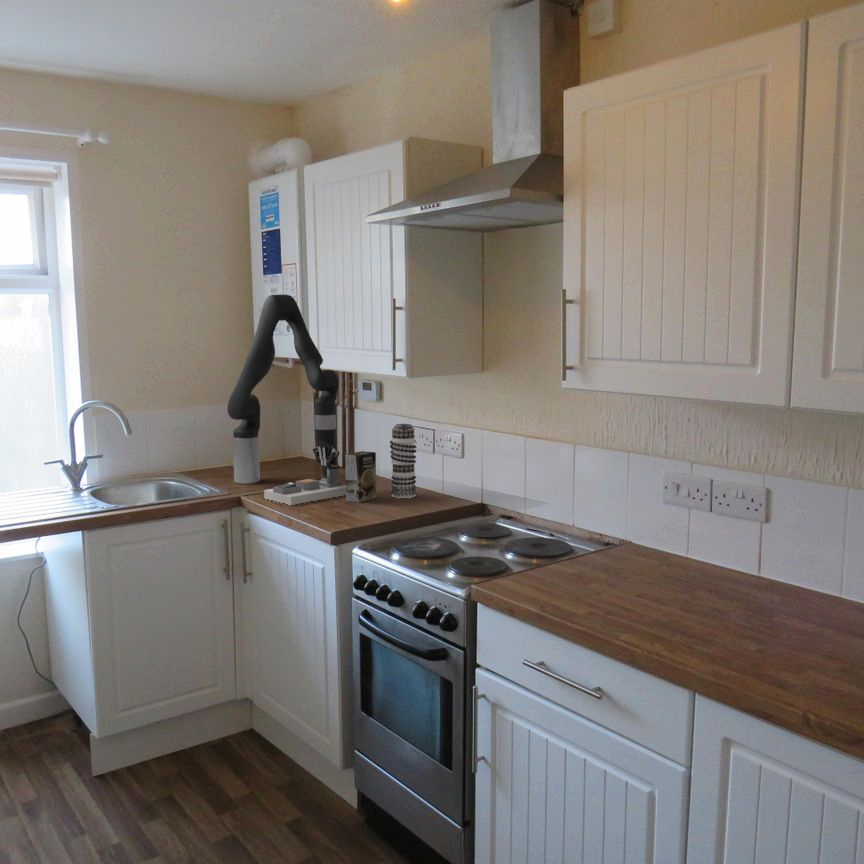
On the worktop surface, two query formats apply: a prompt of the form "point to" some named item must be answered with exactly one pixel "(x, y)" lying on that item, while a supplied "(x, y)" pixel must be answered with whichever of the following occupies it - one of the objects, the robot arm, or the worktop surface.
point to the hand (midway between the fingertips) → (326, 475)
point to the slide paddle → (333, 475)
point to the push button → (307, 481)
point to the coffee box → (360, 476)
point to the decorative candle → (403, 461)
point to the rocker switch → (287, 485)
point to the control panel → (305, 492)
